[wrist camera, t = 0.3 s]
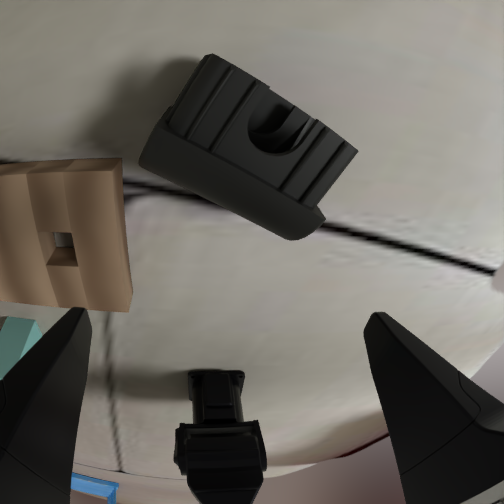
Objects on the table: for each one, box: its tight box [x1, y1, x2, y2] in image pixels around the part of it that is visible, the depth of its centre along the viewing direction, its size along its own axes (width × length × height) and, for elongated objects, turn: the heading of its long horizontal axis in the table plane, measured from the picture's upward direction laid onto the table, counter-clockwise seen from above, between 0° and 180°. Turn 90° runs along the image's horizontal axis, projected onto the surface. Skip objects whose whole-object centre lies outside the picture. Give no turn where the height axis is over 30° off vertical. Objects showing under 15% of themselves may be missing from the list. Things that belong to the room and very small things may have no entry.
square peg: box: [0, 316, 42, 380], centre depth 24 cm, size 4×4×8 cm
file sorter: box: [71, 472, 119, 504], centre depth 63 cm, size 25×17×15 cm
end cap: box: [139, 53, 358, 241], centre depth 17 cm, size 10×7×7 cm
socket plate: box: [0, 158, 133, 313], centre depth 20 cm, size 22×12×2 cm, turn 83°
